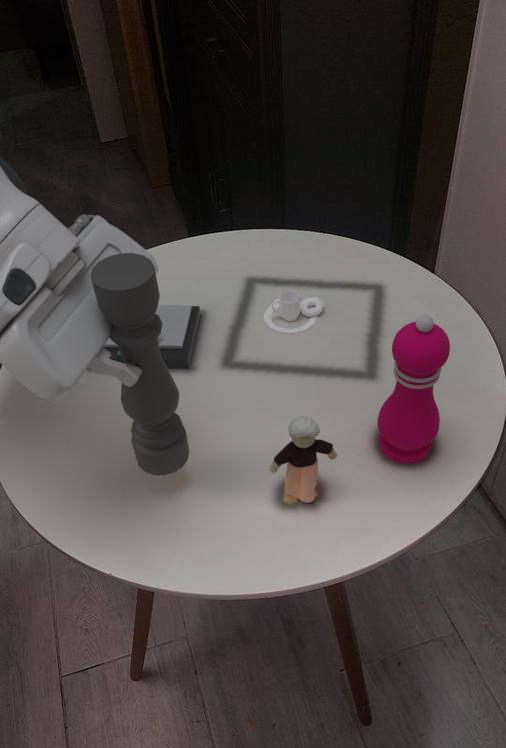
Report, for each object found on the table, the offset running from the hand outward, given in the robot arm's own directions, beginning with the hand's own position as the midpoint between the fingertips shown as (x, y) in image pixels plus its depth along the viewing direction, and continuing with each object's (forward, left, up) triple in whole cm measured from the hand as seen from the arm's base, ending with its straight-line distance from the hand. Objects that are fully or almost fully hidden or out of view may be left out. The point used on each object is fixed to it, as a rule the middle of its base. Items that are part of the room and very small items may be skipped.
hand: (147, 363), depth 68 cm
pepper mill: (+28, +7, -20) cm, 35 cm away
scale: (-8, +26, -19) cm, 34 cm away
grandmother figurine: (+16, -1, -20) cm, 25 cm away
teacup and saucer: (+15, +30, -20) cm, 39 cm away
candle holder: (-1, 0, -15) cm, 15 cm away
